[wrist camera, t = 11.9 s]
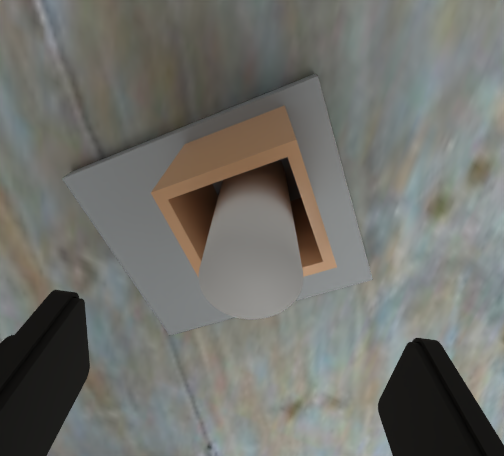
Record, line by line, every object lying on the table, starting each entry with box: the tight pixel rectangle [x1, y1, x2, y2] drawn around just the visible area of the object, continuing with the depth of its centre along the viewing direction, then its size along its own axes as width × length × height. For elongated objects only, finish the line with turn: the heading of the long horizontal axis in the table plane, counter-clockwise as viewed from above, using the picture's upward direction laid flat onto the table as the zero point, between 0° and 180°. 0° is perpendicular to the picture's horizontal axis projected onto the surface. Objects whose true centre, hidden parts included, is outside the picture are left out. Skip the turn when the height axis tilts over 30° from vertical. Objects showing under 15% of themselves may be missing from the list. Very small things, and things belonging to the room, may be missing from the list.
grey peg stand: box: [62, 74, 373, 336], centre depth 19 cm, size 16×14×11 cm
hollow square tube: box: [151, 105, 337, 278], centre depth 17 cm, size 6×6×7 cm
